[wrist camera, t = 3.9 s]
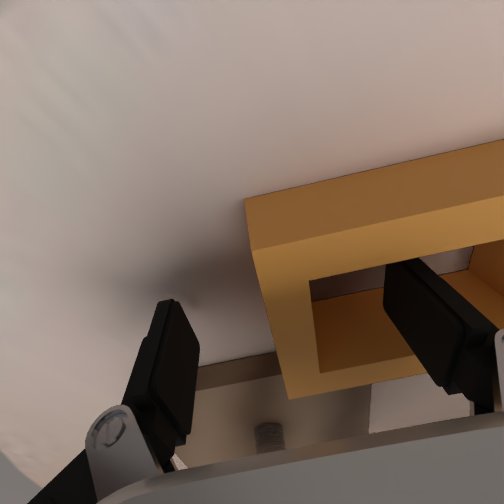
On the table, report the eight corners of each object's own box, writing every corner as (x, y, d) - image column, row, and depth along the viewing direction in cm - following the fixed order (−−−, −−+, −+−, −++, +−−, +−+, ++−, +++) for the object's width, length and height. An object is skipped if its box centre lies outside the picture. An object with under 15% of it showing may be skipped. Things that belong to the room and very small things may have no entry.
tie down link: (545, 129, 10) (702, 151, 7) (489, 285, 15) (568, 345, 11) (243, 199, 11) (251, 251, 7) (274, 329, 15) (288, 399, 12)
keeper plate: (361, 334, 16) (484, 562, 8) (359, 427, 22) (427, 603, 15) (139, 379, 17) (63, 629, 9) (199, 457, 23) (185, 640, 15)
